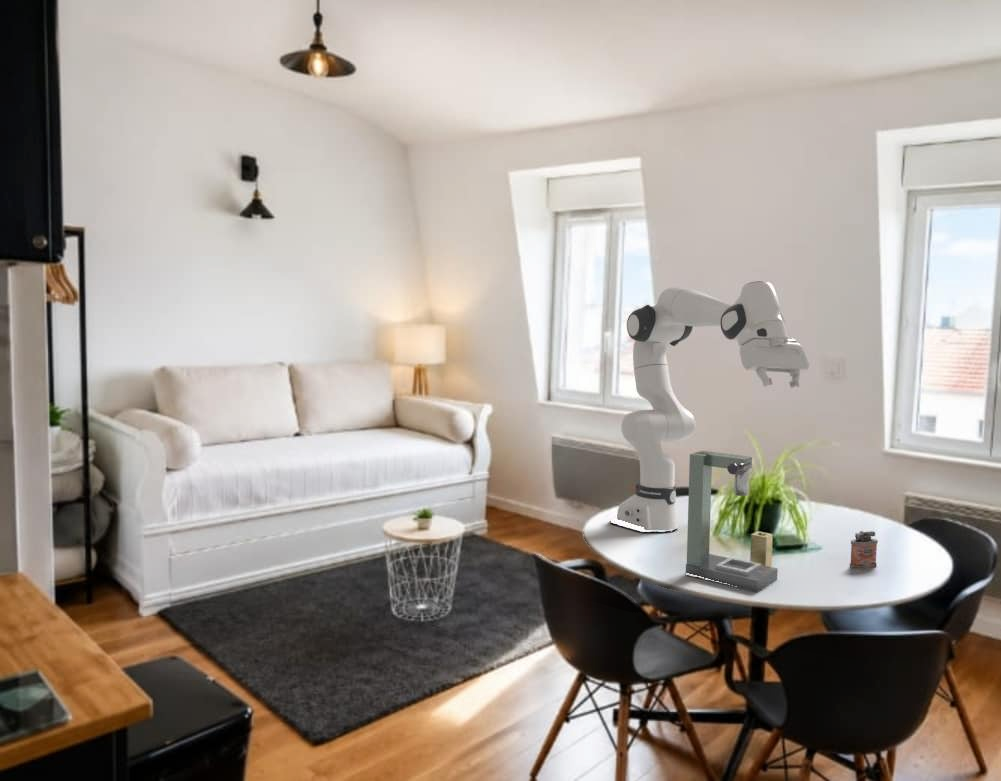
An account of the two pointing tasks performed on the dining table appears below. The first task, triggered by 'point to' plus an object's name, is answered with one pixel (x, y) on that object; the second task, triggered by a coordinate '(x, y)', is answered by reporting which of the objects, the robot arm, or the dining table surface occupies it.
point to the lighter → (863, 550)
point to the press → (699, 524)
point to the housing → (761, 548)
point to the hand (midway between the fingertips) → (781, 386)
